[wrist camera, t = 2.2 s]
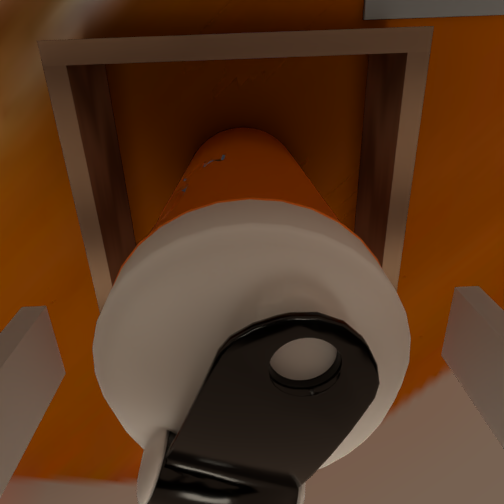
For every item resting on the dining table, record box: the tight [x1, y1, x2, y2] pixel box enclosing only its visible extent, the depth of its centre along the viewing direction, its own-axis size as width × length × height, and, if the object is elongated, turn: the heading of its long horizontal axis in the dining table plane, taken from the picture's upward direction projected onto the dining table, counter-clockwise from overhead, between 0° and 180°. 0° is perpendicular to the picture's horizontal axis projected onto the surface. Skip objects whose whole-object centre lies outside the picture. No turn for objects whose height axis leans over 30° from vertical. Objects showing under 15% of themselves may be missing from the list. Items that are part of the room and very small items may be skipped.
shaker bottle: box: [93, 127, 411, 504], centre depth 18 cm, size 9×9×20 cm
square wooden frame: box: [37, 26, 434, 313], centre depth 25 cm, size 17×17×6 cm
